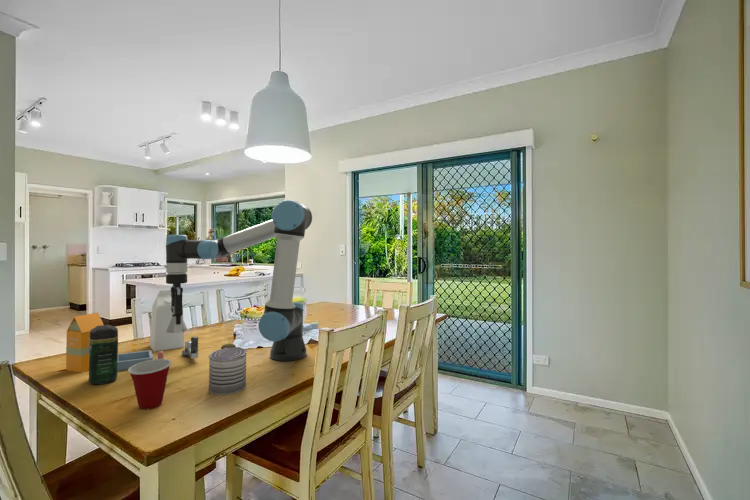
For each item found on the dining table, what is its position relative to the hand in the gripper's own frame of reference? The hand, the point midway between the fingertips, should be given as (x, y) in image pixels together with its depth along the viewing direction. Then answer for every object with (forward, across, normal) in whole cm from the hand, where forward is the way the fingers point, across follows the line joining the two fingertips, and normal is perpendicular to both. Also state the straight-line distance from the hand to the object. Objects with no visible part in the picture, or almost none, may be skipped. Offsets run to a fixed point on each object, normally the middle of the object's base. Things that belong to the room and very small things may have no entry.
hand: (176, 330), depth 148 cm
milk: (+12, -27, -1) cm, 29 cm away
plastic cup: (+13, +41, -11) cm, 45 cm away
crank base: (+12, -8, +6) cm, 16 cm away
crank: (+11, -2, +6) cm, 12 cm away
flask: (+1, 0, 0) cm, 1 cm away
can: (+13, +39, +11) cm, 43 cm away
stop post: (+12, -2, -5) cm, 14 cm away
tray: (+12, -5, -14) cm, 19 cm away
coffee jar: (+12, +10, -23) cm, 28 cm away
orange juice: (+12, -9, -29) cm, 33 cm away
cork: (+13, +26, +14) cm, 32 cm away
